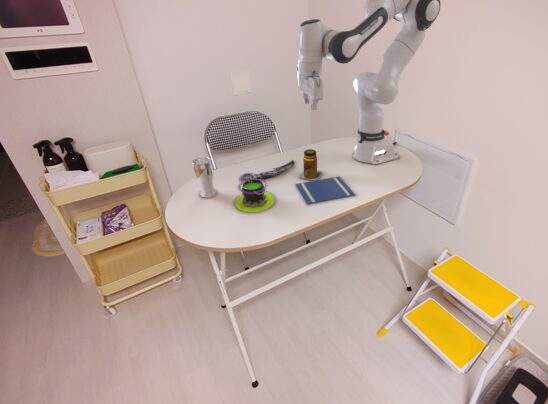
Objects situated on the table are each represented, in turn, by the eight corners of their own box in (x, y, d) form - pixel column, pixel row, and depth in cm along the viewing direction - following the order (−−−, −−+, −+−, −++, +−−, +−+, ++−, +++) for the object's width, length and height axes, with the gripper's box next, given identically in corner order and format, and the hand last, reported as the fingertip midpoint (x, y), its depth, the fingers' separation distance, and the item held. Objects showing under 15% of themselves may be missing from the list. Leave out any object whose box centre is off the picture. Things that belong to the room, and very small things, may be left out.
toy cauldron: (277, 208, 114) (275, 183, 108) (237, 215, 111) (232, 189, 105) (270, 189, 126) (268, 165, 120) (234, 194, 123) (229, 170, 117)
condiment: (300, 178, 134) (299, 153, 128) (307, 169, 141) (307, 145, 134) (315, 180, 132) (315, 155, 125) (322, 172, 139) (322, 148, 132)
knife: (292, 158, 148) (303, 165, 141) (292, 161, 149) (303, 168, 142) (237, 174, 136) (246, 182, 128) (238, 177, 137) (246, 185, 129)
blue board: (339, 177, 135) (339, 176, 134) (354, 195, 122) (354, 194, 122) (296, 184, 129) (296, 183, 129) (307, 204, 117) (307, 203, 116)
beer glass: (202, 189, 127) (195, 156, 118) (219, 189, 126) (212, 156, 118) (197, 198, 121) (188, 164, 112) (214, 198, 121) (206, 164, 112)
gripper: (328, 74, 107) (326, 113, 115) (309, 64, 123) (309, 99, 131) (311, 75, 105) (310, 114, 113) (294, 65, 122) (295, 100, 129)
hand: (310, 106), depth 122 cm, fingers open, 8 cm apart
